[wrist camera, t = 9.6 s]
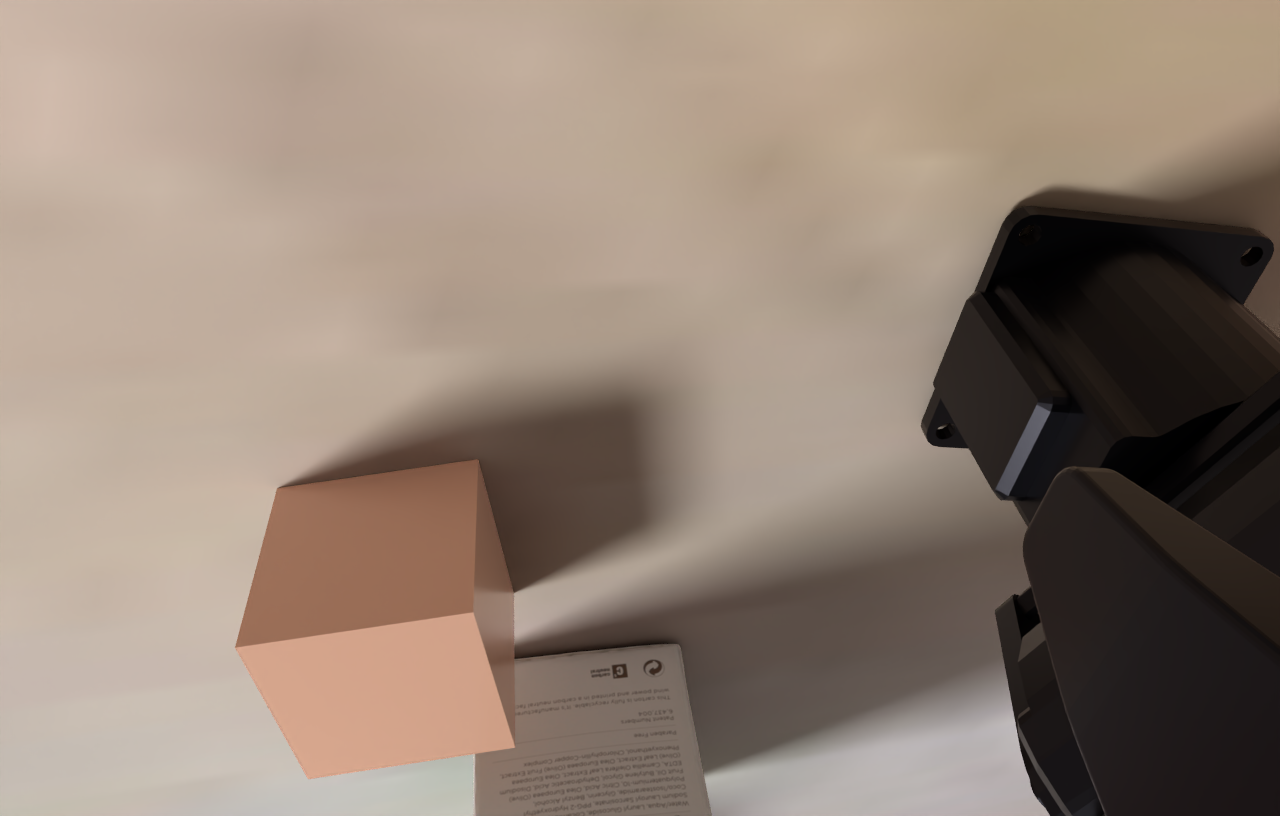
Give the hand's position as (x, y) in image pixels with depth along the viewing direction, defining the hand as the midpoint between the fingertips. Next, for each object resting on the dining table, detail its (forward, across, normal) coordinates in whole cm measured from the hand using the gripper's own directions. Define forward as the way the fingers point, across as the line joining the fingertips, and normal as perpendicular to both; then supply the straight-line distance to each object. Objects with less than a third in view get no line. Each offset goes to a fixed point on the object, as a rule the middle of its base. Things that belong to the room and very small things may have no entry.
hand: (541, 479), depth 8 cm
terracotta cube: (+13, +2, +14) cm, 19 cm away
